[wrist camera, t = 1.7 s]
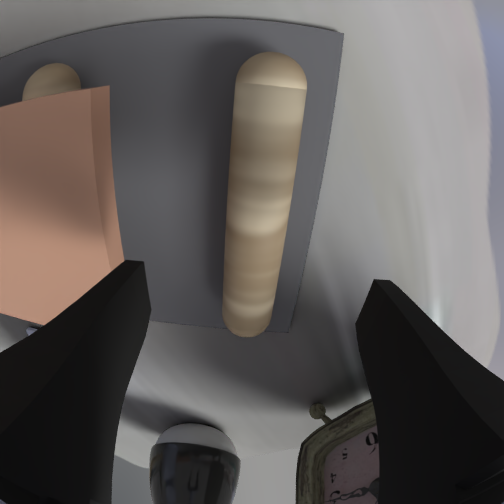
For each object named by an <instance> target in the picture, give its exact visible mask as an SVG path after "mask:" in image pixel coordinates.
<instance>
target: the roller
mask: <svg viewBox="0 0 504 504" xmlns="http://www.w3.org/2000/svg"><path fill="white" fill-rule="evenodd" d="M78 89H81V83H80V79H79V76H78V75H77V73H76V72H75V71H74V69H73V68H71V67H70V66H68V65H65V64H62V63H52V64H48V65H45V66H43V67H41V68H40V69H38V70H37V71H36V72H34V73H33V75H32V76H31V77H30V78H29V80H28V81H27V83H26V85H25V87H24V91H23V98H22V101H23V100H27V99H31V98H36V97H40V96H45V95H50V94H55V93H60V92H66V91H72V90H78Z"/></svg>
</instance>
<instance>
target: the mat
mask: <svg viewBox="0 0 504 504" xmlns="http://www.w3.org/2000/svg"><path fill="white" fill-rule="evenodd" d="M343 38H344V33H340V32H335V31H330V30H325V29H320V28H315V27H309V26H303V25H296V24H289V23H281V22H272V21H262V20H249V19H228V18H191V19H170V20H157V21H147V22H139V23H131V24H124V25H117V26H111V27H106V28H101V29H95V30H91V31H86V32H82V33H77V34H73V35H69V36H65V37H62V38H58V39H55V40H51V41H48V42H45V43H41V44H38V45H35V46H32V47H29V48H26V49H24V50H21V51H18V52H15V53H13V54H10V55H8V56H5V57H3V58H0V106H4V105H8V104H11V103H15V102H19V101H22V98H23V91H24V87H25V85H26V83H27V81H28V80H29V78H30V77H31V76H32V75H33V73H34V72H36V71H37V70H38V69H40V68H41V67H43V66H45V65H48V64H52V63H62V64H65V65H68V66H70V67H71V68H73V69H74V71H75V72H76V73H77V75H78V76H79V79H80V83H81V89H85V88H92V87H100V86H109V85H110V133H111V152H112V167H113V178H114V189H115V198H116V207H117V215H118V223H119V230H120V237H121V243H122V249H123V255H124V261H125V260H135V261H144V265H145V272H146V279H147V285H148V292H149V298H150V303H151V309H152V310H151V315H150V319H149V320H150V321H158V322H166V323H175V324H184V325H193V326H203V327H213V328H225V329H228V328H227V327H226V325H225V323H224V321H223V316H222V304H223V277H224V253H225V232H226V213H227V195H228V179H229V163H230V148H231V134H232V120H233V107H234V95H235V83H236V77H237V74H238V71H239V69H240V68H241V66H242V65H243V64H244V63H245V62H246V61H247V60H248V59H249V58H251V57H252V56H254V55H256V54H259V53H263V52H279V53H282V54H285V55H288V56H289V57H291V58H292V59H294V60H295V61H296V62H297V63H298V64H299V65H300V66H301V68H302V69H303V71H304V73H305V76H306V80H307V93H306V101H305V108H304V116H303V123H302V131H301V138H300V145H299V152H298V159H297V166H296V172H295V179H294V186H293V192H292V199H291V205H290V211H289V218H288V224H287V230H286V236H285V242H284V248H283V254H282V260H281V266H280V271H279V277H278V283H277V288H276V294H275V299H274V305H273V310H272V316H271V320H270V323H269V325H268V326H267V328H266V329H265V330H264V331H267V332H286V333H288V332H289V328H290V324H291V320H292V316H293V312H294V308H295V304H296V300H297V296H298V292H299V288H300V283H301V279H302V275H303V270H304V266H305V261H306V257H307V252H308V248H309V243H310V238H311V234H312V229H313V224H314V219H315V214H316V209H317V204H318V199H319V194H320V189H321V184H322V178H323V173H324V167H325V162H326V156H327V150H328V144H329V138H330V132H331V126H332V120H333V113H334V107H335V100H336V93H337V86H338V78H339V71H340V63H341V55H342V46H343Z"/></svg>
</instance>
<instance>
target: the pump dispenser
mask: <svg viewBox="0 0 504 504" xmlns="http://www.w3.org/2000/svg"><path fill="white" fill-rule="evenodd" d="M240 465H241V463H240V459H239V458H238V456H237V452H236V449H235V446H234V444H233V443H232V441H231V440H230V439H229V438H228V437H227V436H226V435H225V434H224V433H222V432H221V431H219V430H217V429H215V428H213V427H210V426H206V425H202V424H193V423H188V424H180V425H176V426H173V427H171V428H169V429H167V430H166V431H164V432H163V433H162V434H161V436H160V437H159V438H158V440H157V442H156V444H155V445H154V446H153V447H152V448H151V453H150V463H149V478H150V490H151V496H152V501H153V504H232V502H233V499H234V496H235V493H236V489H237V484H238V479H239V474H240Z"/></svg>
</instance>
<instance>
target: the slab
mask: <svg viewBox="0 0 504 504" xmlns="http://www.w3.org/2000/svg"><path fill="white" fill-rule="evenodd" d="M122 262H124V255H123V249H122V243H121V237H120V230H119V223H118V215H117V207H116V198H115V189H114V178H113V167H112V152H111V133H110V85H109V86H100V87H92V88H85V89H78V90H72V91H66V92H60V93H55V94H50V95H45V96H40V97H36V98H31V99H27V100H23V101H19V102H15V103H11V104H8V105H4V106H0V313H2V314H6V315H9V316H12V317H16V318H19V319H23V320H27V321H30V322H34V323H38V324H42V325H45V324H47V323H48V322H49V321H51V320H52V319H54V318H55V317H56V316H57V315H59V314H60V313H61V312H62V311H64V310H65V309H66V308H67V307H69V306H70V305H71V304H73V303H74V302H75V301H76V300H78V299H79V298H80V297H81V296H83V295H84V294H85V293H86V292H87V291H89V290H90V289H91V288H92V287H93V286H94V285H96V284H97V283H98V282H99V281H100V280H102V279H103V278H104V277H105V276H106V275H108V274H109V273H110V272H111V271H112V270H114V269H115V268H116V267H117V266H118V265H120V264H121V263H122Z"/></svg>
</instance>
